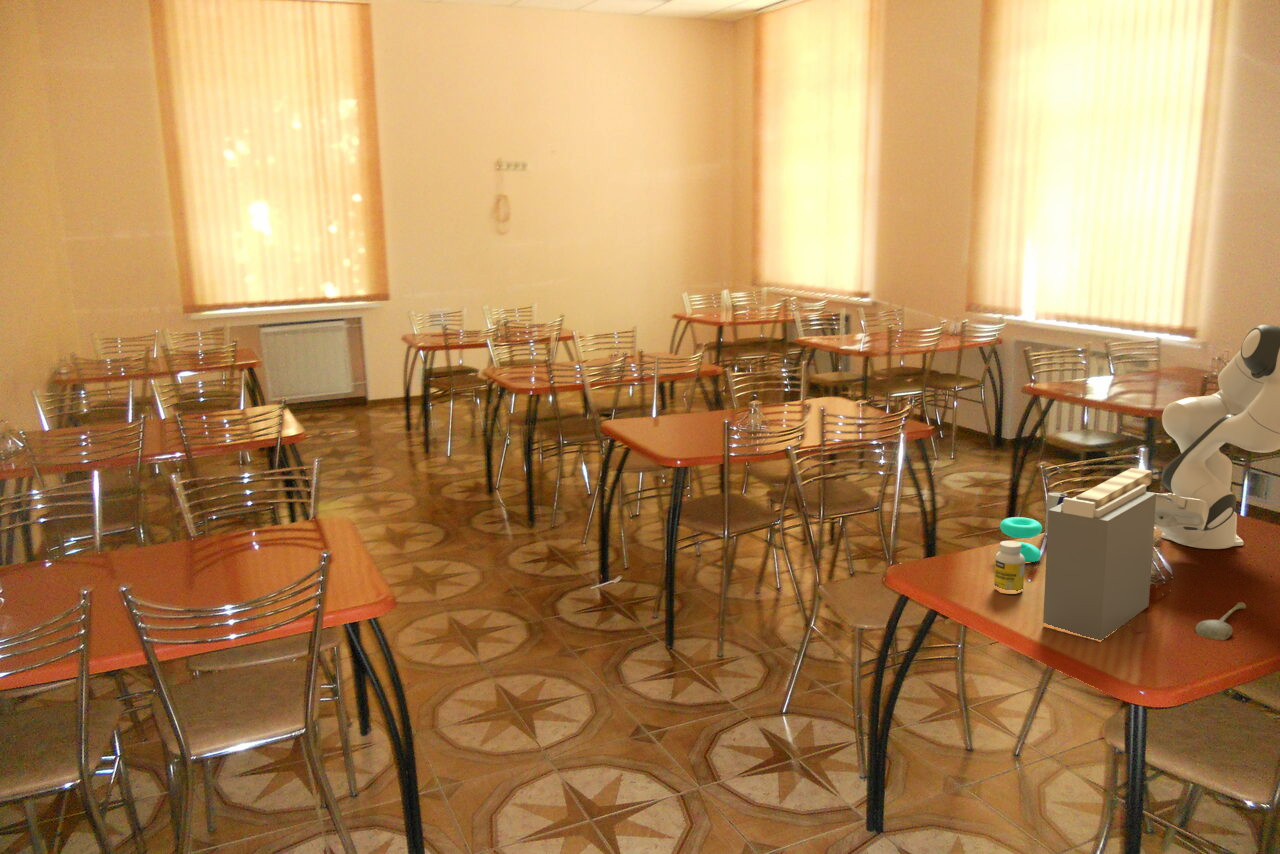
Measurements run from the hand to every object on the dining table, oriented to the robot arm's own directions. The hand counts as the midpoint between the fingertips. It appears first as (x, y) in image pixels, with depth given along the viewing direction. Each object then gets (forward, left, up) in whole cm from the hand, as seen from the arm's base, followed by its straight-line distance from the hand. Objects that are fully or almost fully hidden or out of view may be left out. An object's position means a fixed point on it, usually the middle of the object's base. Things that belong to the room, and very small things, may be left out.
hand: (1149, 493), depth 226 cm
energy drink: (-28, -21, -22) cm, 42 cm away
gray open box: (+27, -9, -21) cm, 35 cm away
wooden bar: (+22, -7, +5) cm, 23 cm away
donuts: (-6, -28, -22) cm, 36 cm away
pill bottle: (+18, -28, -22) cm, 40 cm away
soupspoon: (+21, +15, -22) cm, 34 cm away
